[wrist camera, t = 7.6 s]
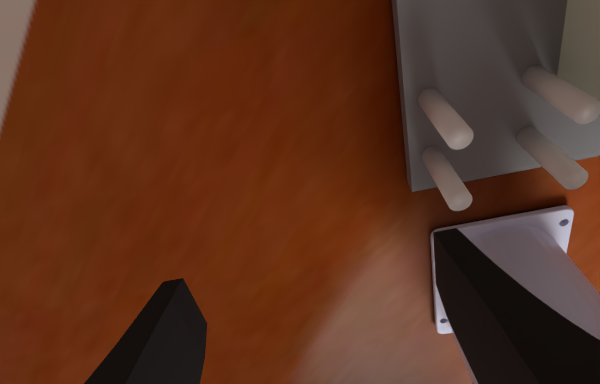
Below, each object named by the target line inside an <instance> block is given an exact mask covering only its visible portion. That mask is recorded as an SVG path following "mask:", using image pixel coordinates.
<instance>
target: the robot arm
mask: <svg viewBox="0 0 600 384" xmlns="http://www.w3.org/2000/svg"><path fill="white" fill-rule="evenodd" d="M573 216H574V211H573V210H572V209H571V208H570V207H569V206H567V205H563V206H557V207H552V208H547V209H541V210H536V211H530V212H525V213H520V214H514V215H509V216H503V217H498V218H493V219H487V220H482V221H476V222H471V223H466V224H460V225H455V226H449V227H444V228H439V229H436V230H434V231H433V232H432V233H431V236H430V239H431V257H432V275H433V293H434V311H435V327H436V330H437V332H438V333H439V334H447V333H453V335H454V338H455V340H456V342H457V345H458V347H459V350H460V352H461V355H462V357H463V360H464V362H465V365H466V367H467V370H468V372H469V375H470V377H471V380H472V382H473V384H600V293H599V292H598V291H597V290H596V289H595V287H594V286H593V285H592V284H591V283H590V281H589V280H588V279H587V278H586V277H585V275H584V274H583V273H582V272H581V271H580V269H579V268H578V267H577V266H576V265H575V263H574V262H573V261H572V260H571V259H570V258H569V256H568V255H567V254H566V253H567V248H568V242H569V237H570V232H571V227H572V221H573ZM562 220H563V221H562ZM560 221H561V222H560ZM206 332H207V322H206V321H205V319H204V317H203V315H202V313H201V311H200V309H199V307H198V306H197V304H196V302H195V300H194V298H193V296H192V294H191V292H190V291H189V289H188V287H187V285H186V283H185V281H184V279H183V278H182V279H176V280H171V281H165V282H163V283H162V284H161V285H160V287H159V288H158V289H157V291H156V292H155V293H154V295H153V296H152V297H151V299H150V300H149V301H148V303H147V304H146V305H145V307H144V308H143V310H142V311H141V312H140V314H139V315H138V316H137V318H136V319H135V320H134V322H133V323H132V324H131V326H130V327H129V328H128V330H127V331H126V332H125V334H124V335H123V336H122V338H121V339H120V340H119V342H118V343H117V344H116V345H115V347H114V348H113V349H112V350H111V352H110V353H109V354H108V355H107V357H106V358H105V359H104V360H103V361H102V363H101V364H100V365H99V366H98V368H97V369H96V370H95V371H94V372H93V374H92V375H91V376H90V377H89V379H88V380H87V381H86V382H85V383H84V384H200V380H201V374H202V369H203V364H204V358H205V348H206Z"/></svg>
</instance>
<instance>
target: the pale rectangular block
mask: <svg viewBox="0 0 600 384" xmlns="http://www.w3.org/2000/svg"><path fill="white" fill-rule="evenodd" d="M557 76H558V77H560V78H562V79H564V80H565V81H567V82H569V83H570V84H572V85H574V86H576V87H577V88H579V89H581V90H582V91H584V92H586V93H588V94H589V95H591V96H593V97H594V98H596V99H598V100H599V101H600V0H567V7H566V14H565V22H564V29H563V37H562V44H561V52H560V59H559V66H558V74H557Z"/></svg>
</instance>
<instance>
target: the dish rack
mask: <svg viewBox="0 0 600 384" xmlns="http://www.w3.org/2000/svg"><path fill="white" fill-rule="evenodd" d="M566 7H567V0H392V11H393V22H394V34H395V45H396V56H397V68H398V79H399V91H400V102H401V113H402V125H403V136H404V148H405V159H406V170H407V182H408V184H409V186H410V188H411V191H412V192H415V191H421V190H426V189H431V188H436V187H438V189H439V190H440V192H441V194H442V196H443V197H444V199H445V201H446V203H447V204H448V206H449V208H450V209H451V210H453V211H462V210H464V209H466V208H468V207H469V206H470V205H471V203H472V195H471V194H470V192H469V191H468V190H467V188H466V187H465V185H464V184H463V182H467V181H472V180H477V179H482V178H487V177H493V176H498V175H503V174H508V173H513V172H518V171H523V170H529V169H534V168H539V167H543V168H544V169H545V170H547V171H548V172H549V173H550V174H551V175H552V176H553V177H554V178H555V179H556V180H557V181H558V182H559V183H560V184H561V185H562V186H563V187H564V188H565V189H568V190H574V189H577V188H579V187H581V186H582V185H584V184H585V182H586V181H587V179H588V172H587V171H586V170H585V169H583V168H582V167H581V166H580V165H579V164H578V163H576V162H575V160H580V159H585V158H590V157H595V156H600V101H599V100H598V99H596V98H594V97H593V96H591V95H589V94H588V93H586V92H584V91H582V90H581V89H579V88H577V87H576V86H574V85H572V84H570V83H569V82H567V81H565V80H564V79H562V78H560V77H558V76H557V74H558V66H559V59H560V52H561V44H562V37H563V29H564V22H565V14H566Z"/></svg>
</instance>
